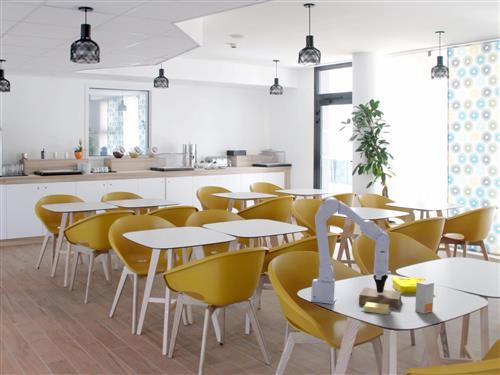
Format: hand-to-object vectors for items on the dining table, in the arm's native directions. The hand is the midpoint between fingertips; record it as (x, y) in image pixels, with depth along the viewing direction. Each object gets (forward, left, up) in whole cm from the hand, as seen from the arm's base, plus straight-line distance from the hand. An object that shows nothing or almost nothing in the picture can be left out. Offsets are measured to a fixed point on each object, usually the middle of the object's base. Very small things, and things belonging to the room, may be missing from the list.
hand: (380, 292), depth 231 cm
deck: (0, +2, -5) cm, 5 cm away
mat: (0, -8, -5) cm, 10 cm away
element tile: (+11, +28, -6) cm, 31 cm away
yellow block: (0, -10, -3) cm, 10 cm away
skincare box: (+18, -3, -5) cm, 19 cm away
